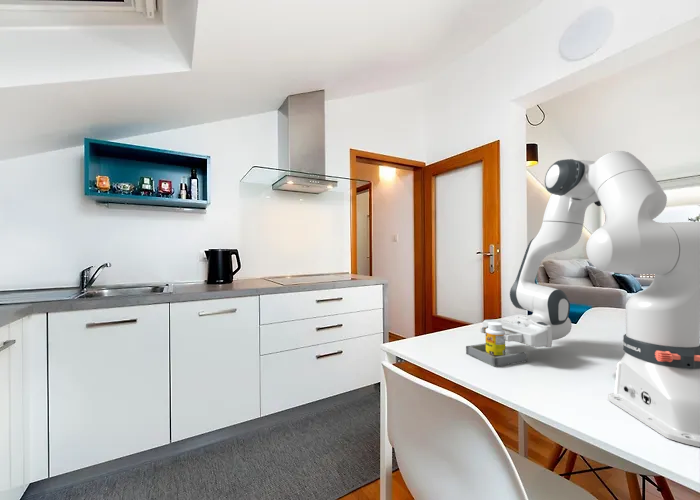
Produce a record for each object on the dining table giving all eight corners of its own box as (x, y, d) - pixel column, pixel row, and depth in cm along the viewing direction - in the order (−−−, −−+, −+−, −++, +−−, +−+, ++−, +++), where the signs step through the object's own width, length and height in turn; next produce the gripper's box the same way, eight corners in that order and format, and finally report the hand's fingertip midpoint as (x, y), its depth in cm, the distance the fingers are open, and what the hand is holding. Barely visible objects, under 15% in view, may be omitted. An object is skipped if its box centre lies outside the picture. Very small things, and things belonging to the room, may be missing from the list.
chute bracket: (495, 349, 104) (495, 341, 104) (526, 361, 92) (526, 353, 92) (466, 353, 100) (466, 346, 100) (494, 367, 88) (494, 358, 88)
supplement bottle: (482, 353, 99) (482, 321, 99) (499, 353, 99) (499, 321, 99) (490, 359, 93) (490, 325, 93) (508, 359, 93) (508, 325, 93)
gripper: (501, 313, 110) (469, 317, 106) (556, 327, 91) (520, 331, 86) (501, 331, 110) (470, 335, 106) (556, 348, 91) (521, 354, 86)
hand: (493, 334), depth 96 cm, fingers open, 8 cm apart
